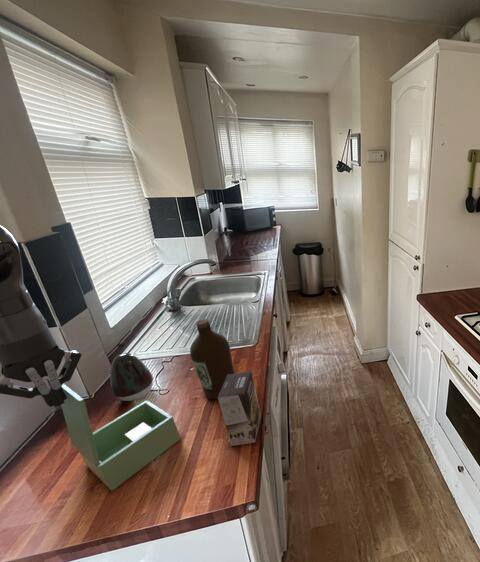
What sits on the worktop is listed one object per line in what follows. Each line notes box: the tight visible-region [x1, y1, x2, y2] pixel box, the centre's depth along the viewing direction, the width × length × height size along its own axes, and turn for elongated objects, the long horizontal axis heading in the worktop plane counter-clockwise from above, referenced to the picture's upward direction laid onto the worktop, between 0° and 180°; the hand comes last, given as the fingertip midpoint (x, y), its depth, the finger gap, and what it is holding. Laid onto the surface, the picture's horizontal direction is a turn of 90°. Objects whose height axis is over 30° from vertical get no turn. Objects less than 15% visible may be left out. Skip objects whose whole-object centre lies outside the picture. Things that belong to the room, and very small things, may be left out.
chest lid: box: [60, 383, 100, 467], centre depth 67 cm, size 16×13×1 cm
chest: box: [78, 400, 182, 492], centre depth 77 cm, size 16×13×8 cm
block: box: [124, 422, 152, 444], centre depth 79 cm, size 4×4×4 cm
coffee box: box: [217, 370, 262, 447], centre depth 80 cm, size 9×6×16 cm
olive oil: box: [189, 318, 235, 401], centre depth 94 cm, size 11×11×25 cm
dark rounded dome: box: [109, 352, 154, 402], centre depth 95 cm, size 10×10×15 cm
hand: (58, 404), depth 63 cm, fingers closed
